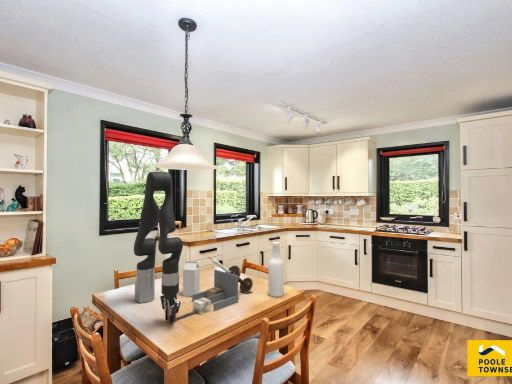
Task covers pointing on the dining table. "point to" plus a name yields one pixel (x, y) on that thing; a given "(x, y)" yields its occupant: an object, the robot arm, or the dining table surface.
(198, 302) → the corded block
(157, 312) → the dining table surface
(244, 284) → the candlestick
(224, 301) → the lane rack
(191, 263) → the milk carton
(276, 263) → the alcohol
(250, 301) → the dining table surface
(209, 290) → the walnut block
